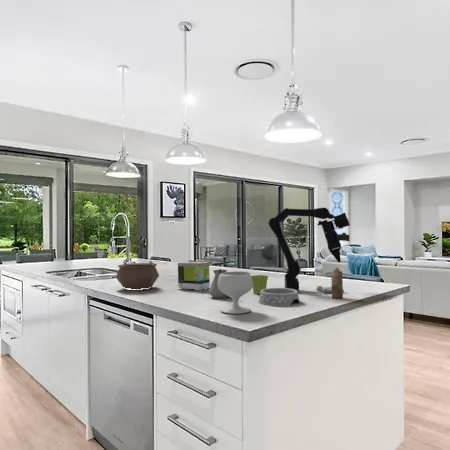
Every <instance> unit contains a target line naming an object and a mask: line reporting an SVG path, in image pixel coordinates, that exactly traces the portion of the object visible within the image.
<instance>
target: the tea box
mask: <svg viewBox="0 0 450 450" xmlns="http://www.w3.org/2000/svg"><path fill="white" fill-rule="evenodd" d="M210 279H211V277H210V262H209V261H183V262H178V263H177V280H178V283H177V285H178V286H177V287H178V288H185V289H184V290H187V289H194V290H193V291H203V290H202V289H204V290H207V289H206V288H209V289H210V287H211V284H210V283H211V282H210V281H211V280H210Z"/></svg>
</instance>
